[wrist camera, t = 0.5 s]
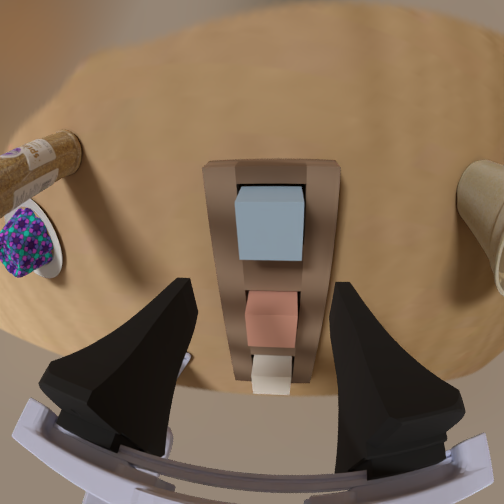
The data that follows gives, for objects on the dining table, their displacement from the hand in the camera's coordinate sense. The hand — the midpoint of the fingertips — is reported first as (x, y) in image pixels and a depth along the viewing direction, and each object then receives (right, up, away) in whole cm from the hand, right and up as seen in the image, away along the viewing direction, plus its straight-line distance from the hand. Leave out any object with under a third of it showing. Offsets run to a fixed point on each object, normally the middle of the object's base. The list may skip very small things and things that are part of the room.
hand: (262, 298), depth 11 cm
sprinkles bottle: (-17, +11, +8) cm, 22 cm away
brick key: (+1, -3, +12) cm, 13 cm away
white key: (+2, -11, +17) cm, 20 cm away
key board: (+2, -2, +14) cm, 14 cm away
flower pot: (+20, +7, +5) cm, 22 cm away
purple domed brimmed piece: (-28, +4, +14) cm, 31 cm away
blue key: (+1, +5, +7) cm, 9 cm away
